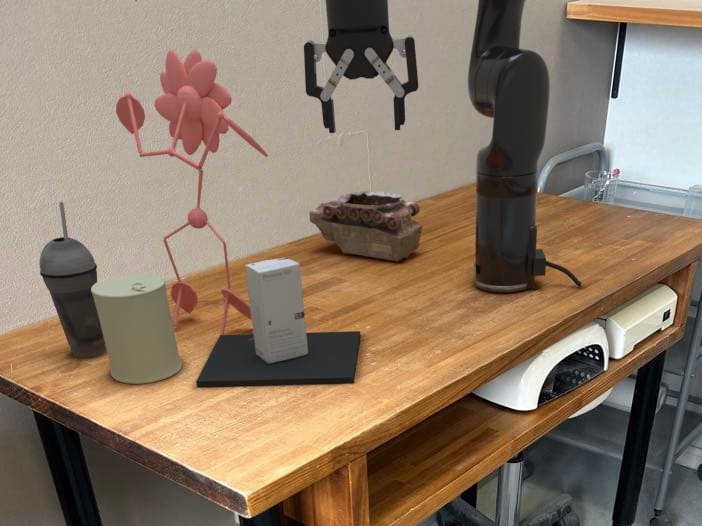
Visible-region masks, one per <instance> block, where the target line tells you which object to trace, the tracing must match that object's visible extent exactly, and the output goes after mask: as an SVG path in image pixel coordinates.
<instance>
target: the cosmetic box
mask: <svg viewBox="0 0 702 526" xmlns="http://www.w3.org/2000/svg"><path fill="white" fill-rule="evenodd" d="M244 271H245V278H246V287H247V295H248V301H249V302H248V303H249V306H250V311H251V318H252V320H251V325H252V332H253V333H252V334H254V341H255V349H256V354H257V355H258V356H259V357H260V358H261V359H262V360H264V361H265V362H267V363H268V364H271V363H275V362H279V361H283V360H287V359H291V358H295V357H299V356H303V355H306V354H307V353H308V346H307V335H306V333H307V326H306V316H305V315H306V314H305V304H304V295H303V284H302V283H303V282H302V272H301V264H300V263H299V262H297V261H295V260H292V259H291V258H288V257H279V258H273V259H266V260H260V261H258V262H251V263H247V264H245V265H244Z"/></svg>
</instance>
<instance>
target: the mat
mask: <svg viewBox="0 0 702 526" xmlns="http://www.w3.org/2000/svg"><path fill="white" fill-rule="evenodd" d="M306 335H307V346H308V353H307V354H306V355H303V356H299V357H295V358H291V359H287V360H283V361H279V362H275V363H271V364H268V363H267V362H265V361H264V360H262V359H261V358H260V357H259V356H258V355H257V354H256V349H255V341H254V339H252V340H248V339H251V338H254V334H253V333H249V334H248V333H247V334H246V333H245V334H244V333H242V334H220V335H219V336H218V338H217V341H216V342H215V344H214V345H213V347H212V348H213V349H212V350H211V352H210V354H209V355H208V358H207V360H206V361H205V363H204V365H203V367H202V369H201V371H200V373H199V375H198V377H197V379H196V381H195V382H196V387H197V388H208V387H209V388H214V387H246V386H247V387H249V386H251V387H253V386H284V385H285V386H288V385H318V384H319V385H320V384H321V385H322V384H328V385H329V384H354V382H355V376H356V368H357V363H358V355H359V349H360V348H359V347H360V341H361V331H359V330H354V331H353V330H351V331H350V330H349V331H318V332H314V331H313V332H306Z"/></svg>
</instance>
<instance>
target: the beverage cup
mask: <svg viewBox="0 0 702 526" xmlns="http://www.w3.org/2000/svg"><path fill="white" fill-rule="evenodd" d="M64 203H65V202H63V201H59V211H60V218H61V219H60V220H61V227H62V233H63V236H61V237H56V238H53V239H51V240H50V241H48V242H46V244H45V245H44V247H43V248H42V250H41V252H40V256H39V270H40V271H39V275H40V276H41V277H42V281H43V283H44V284H45V287H46V289H47V290H48V292H49V294H50V297H51V300H52V303H53V305H54V309H55V311H56V313H57V316H58V318H59V322H60V324H61V327H62V329H63V330H62V331H63V333H64V335H65V338H66V341H67V343H68V346H69V348H70V350H71V353H72V355H73V357H76V358H80V359H88V358H94V357H98V356H102V355H104V353H105V352H107V349H106V345H105V341H104V336H103V332H102V328H101V324H100V320H99V316H98V313H97V309H96V305H95V301H94V297H93V294H92V292H91V288H92V286H93V285H94V284H95V283H97V282H98V271H97V268H98V265H97V263H96V262H95V261H96V260H95V259H94V256H93V254H92V253H91V251H90V250H89V249H88V248H87V246H86V245H84V244H83V243H82V242H80V241H79V240H77V239H75V238H72V237H69V235H68V234H69V233H68V228H67V227H68V226H67V219H66V212H65V204H64Z"/></svg>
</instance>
